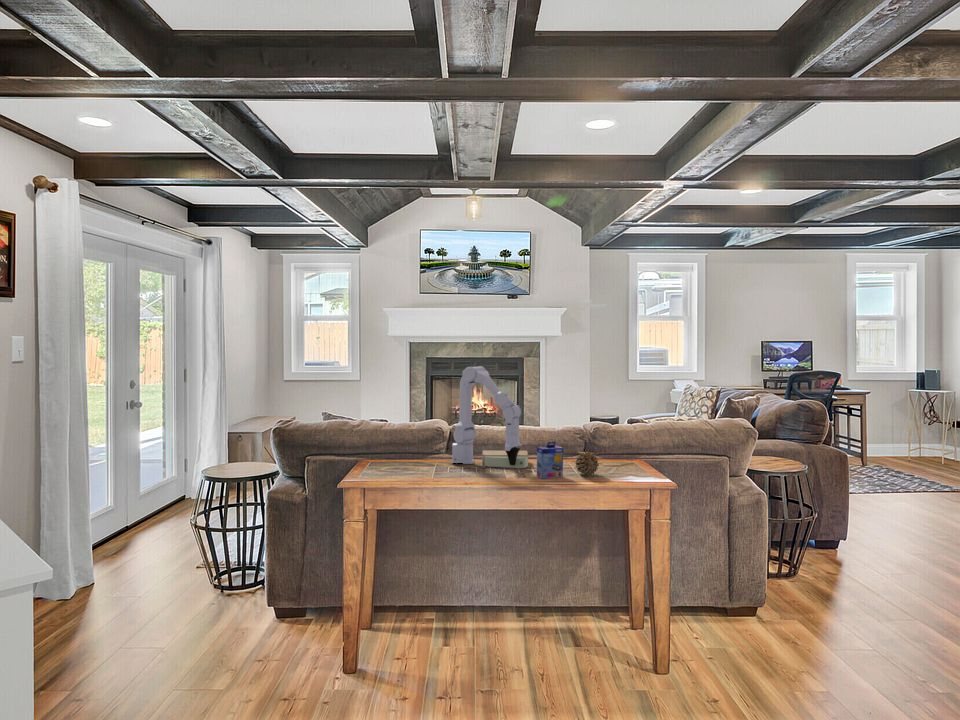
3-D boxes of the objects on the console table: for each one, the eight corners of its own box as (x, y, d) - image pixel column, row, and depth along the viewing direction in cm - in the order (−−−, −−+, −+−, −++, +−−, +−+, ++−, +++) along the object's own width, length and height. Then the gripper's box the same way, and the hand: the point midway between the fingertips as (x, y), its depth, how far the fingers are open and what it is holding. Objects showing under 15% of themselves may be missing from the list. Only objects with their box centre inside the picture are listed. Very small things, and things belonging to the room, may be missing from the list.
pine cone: (602, 479, 263) (602, 454, 263) (578, 479, 263) (578, 454, 262) (591, 468, 285) (591, 445, 285) (568, 468, 285) (568, 445, 284)
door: (482, 466, 288) (482, 457, 288) (483, 465, 289) (483, 456, 289) (524, 468, 283) (524, 458, 283) (525, 467, 285) (525, 458, 285)
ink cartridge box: (542, 479, 263) (542, 443, 262) (535, 476, 268) (535, 441, 268) (563, 477, 267) (564, 441, 266) (557, 474, 272) (557, 439, 271)
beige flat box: (482, 466, 290) (482, 455, 289) (482, 461, 302) (482, 450, 301) (527, 466, 289) (527, 455, 289) (527, 461, 301) (526, 450, 301)
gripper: (515, 436, 275) (516, 468, 276) (526, 431, 289) (526, 462, 289) (499, 435, 278) (500, 467, 278) (511, 430, 291) (511, 461, 292)
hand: (512, 465), depth 284 cm, fingers closed
